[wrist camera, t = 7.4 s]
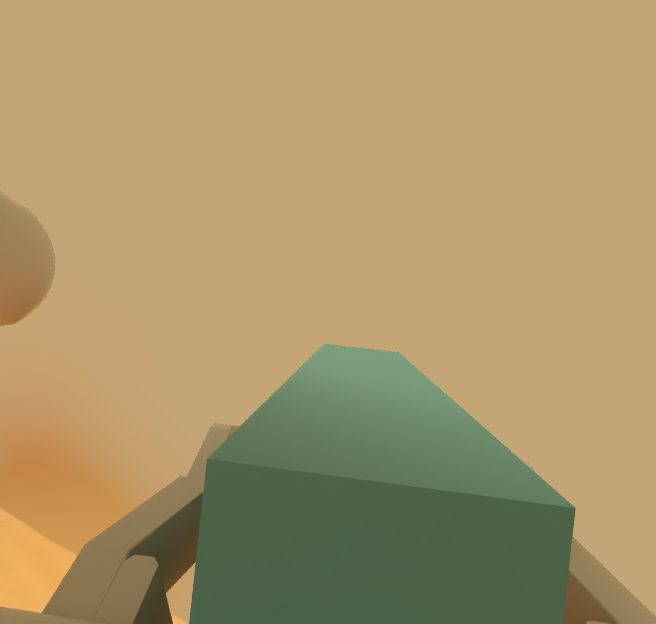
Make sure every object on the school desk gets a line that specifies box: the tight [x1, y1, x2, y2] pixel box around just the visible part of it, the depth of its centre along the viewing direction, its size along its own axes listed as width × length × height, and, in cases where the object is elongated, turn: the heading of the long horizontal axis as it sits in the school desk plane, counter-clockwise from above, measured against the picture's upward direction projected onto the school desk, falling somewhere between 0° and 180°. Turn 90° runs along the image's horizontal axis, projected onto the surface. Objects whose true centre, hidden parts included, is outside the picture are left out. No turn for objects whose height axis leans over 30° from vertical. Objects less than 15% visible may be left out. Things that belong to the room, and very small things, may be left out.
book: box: [189, 344, 575, 624], centre depth 15 cm, size 4×20×4 cm, turn 176°
